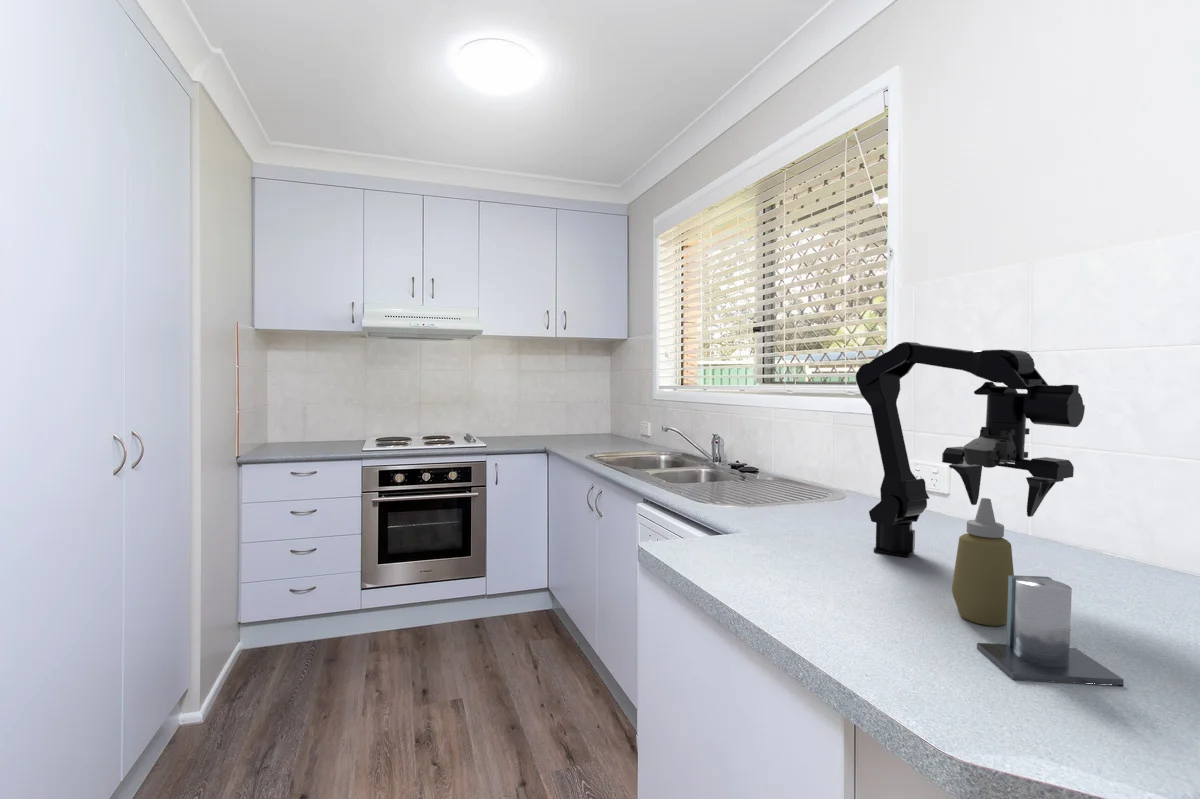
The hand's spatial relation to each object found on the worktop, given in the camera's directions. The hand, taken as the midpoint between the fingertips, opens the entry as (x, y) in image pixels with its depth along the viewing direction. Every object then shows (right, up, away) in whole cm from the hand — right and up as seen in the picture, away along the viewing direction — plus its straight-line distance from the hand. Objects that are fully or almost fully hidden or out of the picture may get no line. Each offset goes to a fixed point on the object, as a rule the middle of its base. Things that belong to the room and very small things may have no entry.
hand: (1000, 510), depth 103 cm
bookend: (-15, -14, -30) cm, 36 cm away
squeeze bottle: (-14, -13, -16) cm, 25 cm away
